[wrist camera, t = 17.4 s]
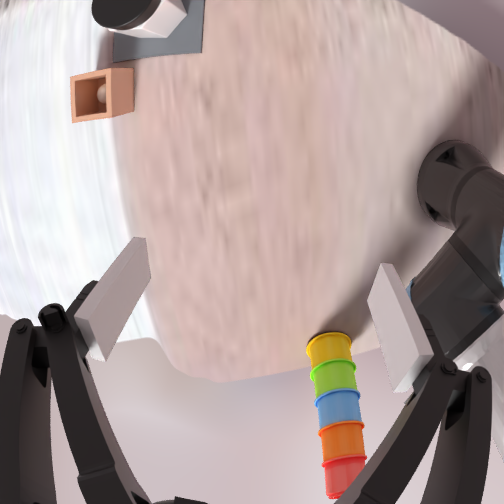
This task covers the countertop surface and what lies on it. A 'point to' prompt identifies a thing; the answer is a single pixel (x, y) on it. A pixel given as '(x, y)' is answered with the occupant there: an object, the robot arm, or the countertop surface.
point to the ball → (102, 93)
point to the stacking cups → (337, 410)
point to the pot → (116, 94)
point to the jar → (139, 16)
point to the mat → (178, 42)
